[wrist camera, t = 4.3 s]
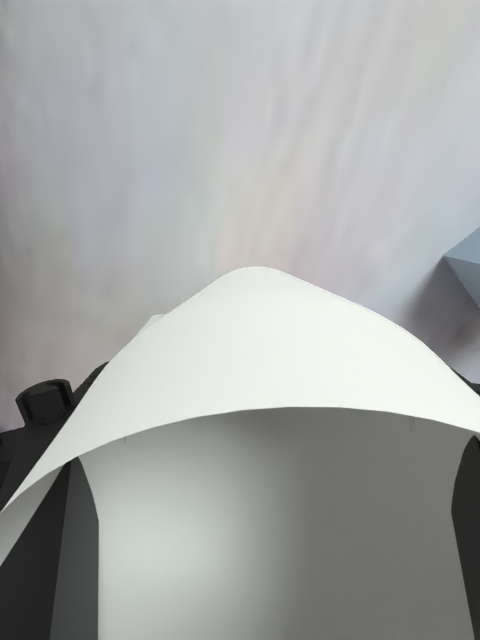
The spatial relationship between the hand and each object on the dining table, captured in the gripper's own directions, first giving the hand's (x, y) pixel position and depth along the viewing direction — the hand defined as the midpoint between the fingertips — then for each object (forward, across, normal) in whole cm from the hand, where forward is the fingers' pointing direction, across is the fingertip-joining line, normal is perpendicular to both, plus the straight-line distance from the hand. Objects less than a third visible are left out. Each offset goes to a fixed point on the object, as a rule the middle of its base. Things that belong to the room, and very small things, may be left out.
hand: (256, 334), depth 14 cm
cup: (+1, 0, 0) cm, 1 cm away
